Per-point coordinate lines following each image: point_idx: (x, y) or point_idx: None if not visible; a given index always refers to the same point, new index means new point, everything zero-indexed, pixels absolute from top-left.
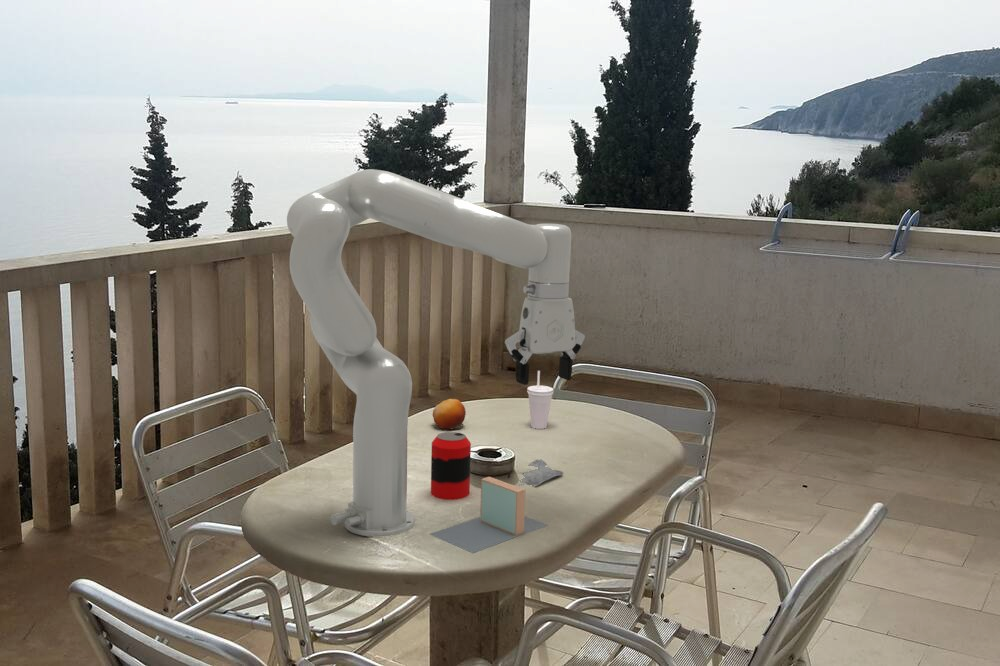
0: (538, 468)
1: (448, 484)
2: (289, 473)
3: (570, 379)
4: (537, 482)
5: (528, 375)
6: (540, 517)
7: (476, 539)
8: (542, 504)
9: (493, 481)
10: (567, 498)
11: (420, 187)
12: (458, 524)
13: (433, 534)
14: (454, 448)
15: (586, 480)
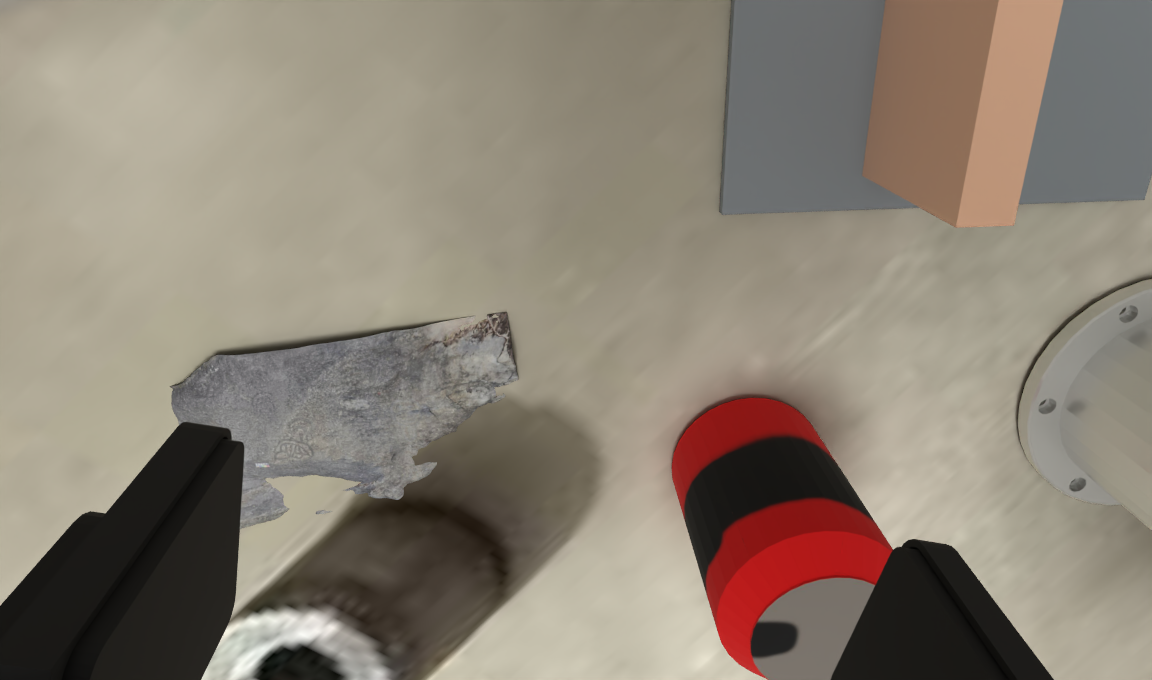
0: (248, 470)
1: (827, 452)
2: None
3: (189, 423)
4: (382, 348)
5: (960, 626)
6: (662, 52)
7: (1087, 27)
8: (535, 164)
9: (1009, 154)
10: (384, 144)
11: None
12: None
13: (1139, 185)
14: (878, 544)
15: (137, 255)
